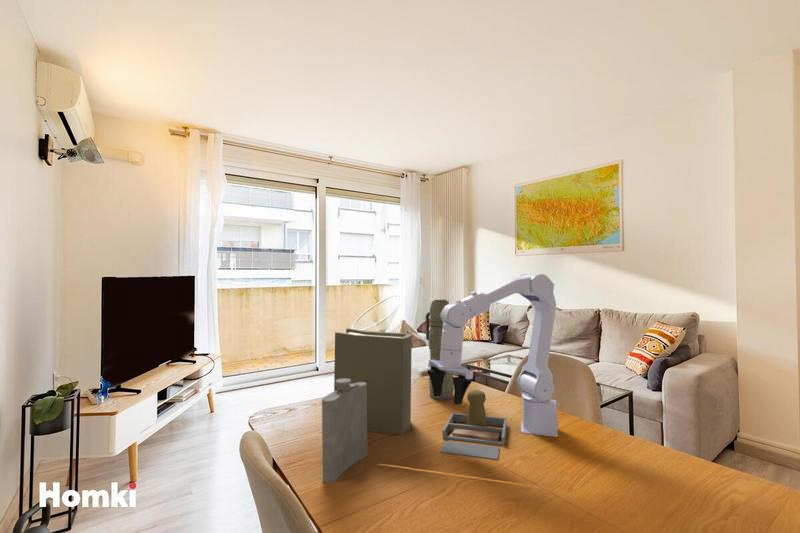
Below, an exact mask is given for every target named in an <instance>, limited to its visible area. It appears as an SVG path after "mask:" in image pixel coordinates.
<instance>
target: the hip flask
mask: <svg viewBox="0 0 800 533" xmlns="http://www.w3.org/2000/svg"><path fill="white" fill-rule="evenodd" d="M336 385H337V388H336V389H337V390H336V391H334V390H333V392H331V393H329V394H327V395H326V396H324V397H323V398H321V417H322V418H321V422H322V423H321V431H322V433H321V436H322V437H321V438H322V441H321V442H322V450H321V451H322V481H323V482H324V483H328V484H330V483H334V482H336V481H337V480H338V479H339V478H340V476H342V474H343V473H345V471H346V470H348V469H349V468H350V467H351V466H353V465H354V464H355V463H358V461H360V460H361V459H363V458H365V457H366V456H368V431H367V384H366V383H365V382H357V383H353V384H351V379H346V378H343V379H337V380H336Z"/></svg>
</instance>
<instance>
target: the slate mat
mask: <svg viewBox="0 0 800 533" xmlns="http://www.w3.org/2000/svg"><path fill="white" fill-rule="evenodd" d="M439 453H441V454H449V455H456V456H462V457H463V456H464V457H472V458H478V459H480V458H481V459H485V460H486V459H488V460H494V461H498V460H499V453H500V446H494V445H493V446H491V445H486V444H485V445H483V444H478V443H477V444H476V443H467V442H461V441H460V442H459V441H452V440H444V441H443V444H442V445H441V448H440V450H439Z"/></svg>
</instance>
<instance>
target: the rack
mask: <svg viewBox="0 0 800 533" xmlns="http://www.w3.org/2000/svg"><path fill="white" fill-rule="evenodd" d="M467 418H468V413H458V412H457V413H456V412H451V413H450V415H449V417H448V419H447V421H446V423H445V425H444V427H443V428H442V430H441V432H442V440H443V439H445V440H450V441H452V440H453V441H460V442H461V441H462V442H470V443H475V444H476V443H477V444H485V445H493V446H505V441H506V435H507V434H506V433H507V427H508V424H507V423H508V422H507V421H508V420H507V417H497V416H489V415H486V422H487V427H482V426H473V425H467V424H464V423H467ZM454 422H459V423H454ZM460 422H461V423H463V424H461V423H460ZM490 426H498V427H499V428H498V427H490ZM500 427H502V428H500ZM455 428H460V429H468V430H476V431H484V432H493V433H499V438H501V441H499V442H498V441H489V440H481V439H472V438H464V437H455V436H450V435H448V433H449V432H450V433H451V432H453V431H454V429H455Z"/></svg>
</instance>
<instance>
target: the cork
mask: <svg viewBox="0 0 800 533" xmlns="http://www.w3.org/2000/svg"><path fill="white" fill-rule="evenodd" d="M486 397H487V396H486V394H485V392H484V391H482V390H480V389H472V390H469V391H468V393H467V395H466V399H467V402H468V410H467V414H468V418H467V422H466V425H473V426H482V427H488V425H487V422H486V416H487V415H486V409H485V402H486Z"/></svg>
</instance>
